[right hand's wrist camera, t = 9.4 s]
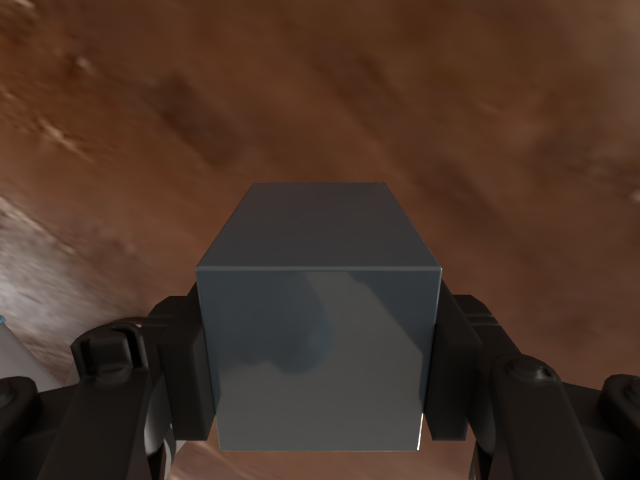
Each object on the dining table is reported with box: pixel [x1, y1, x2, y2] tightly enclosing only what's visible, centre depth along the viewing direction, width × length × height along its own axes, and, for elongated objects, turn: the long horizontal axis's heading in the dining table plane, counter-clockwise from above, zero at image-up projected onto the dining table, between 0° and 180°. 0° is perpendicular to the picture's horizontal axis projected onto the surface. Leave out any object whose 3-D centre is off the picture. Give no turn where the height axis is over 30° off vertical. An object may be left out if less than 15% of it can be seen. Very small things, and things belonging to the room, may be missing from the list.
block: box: [195, 183, 443, 451], centre depth 13 cm, size 5×5×8 cm
